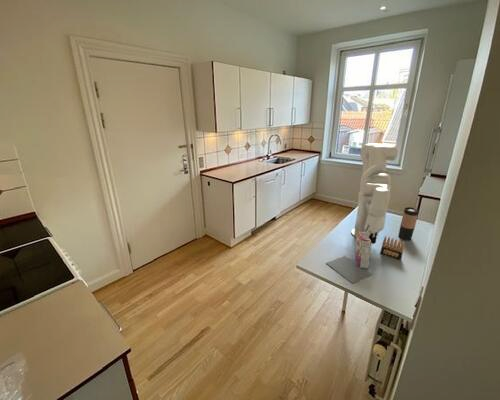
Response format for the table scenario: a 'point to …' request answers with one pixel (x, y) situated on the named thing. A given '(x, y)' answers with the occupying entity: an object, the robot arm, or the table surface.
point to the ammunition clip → (392, 249)
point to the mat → (349, 269)
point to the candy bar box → (363, 249)
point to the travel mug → (408, 223)
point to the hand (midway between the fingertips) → (371, 242)
